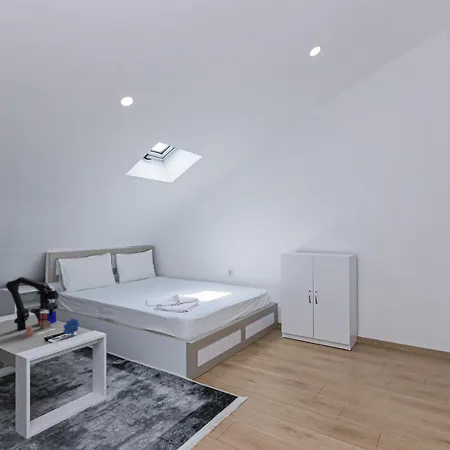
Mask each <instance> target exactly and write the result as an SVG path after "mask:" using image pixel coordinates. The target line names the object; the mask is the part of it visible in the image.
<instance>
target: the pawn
mask: <svg viewBox="0 0 450 450" xmlns="http://www.w3.org/2000/svg"><path fill="white" fill-rule="evenodd" d="M26 328H27V329H25V338H27V337H30V338H32V336H33V333H34V332H33V327H32V326H31V325H28V326H26ZM33 337H34V336H33Z"/></svg>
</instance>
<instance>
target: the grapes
mask: <svg viewBox="0 0 450 450" xmlns="http://www.w3.org/2000/svg"><path fill="white" fill-rule="evenodd" d="M80 325H81V324H80V322H79V319H77V318H76V319H75V318H74V317H72V318H71V319H68V320H67V321H66V323H65V324H63V331H62V332H63V333H64V334H65V335H66V334H70V333H71V334H73V335H74V334H75V333H76V332H77V331H79V327H80ZM71 334H70V335H71Z"/></svg>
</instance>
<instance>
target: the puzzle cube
mask: <svg viewBox="0 0 450 450" xmlns="http://www.w3.org/2000/svg"><path fill="white" fill-rule="evenodd" d="M44 321H50V325H52V324H54V323H56V322H57V311H56V309H55V310H54V311H53V313H52V316H51V318H50V317H49V310H46V309H45V310H41V311H40V321H38V320H37V325H38V326H40V323H41V322H44Z"/></svg>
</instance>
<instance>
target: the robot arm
mask: <svg viewBox="0 0 450 450" xmlns="http://www.w3.org/2000/svg"><path fill="white" fill-rule="evenodd" d="M21 284H24V285H25V286H29V287H32V288H34V289H35V290H37V291H38V292H37V293H36V295H39V301H38V303H39V308H38V307H33V308H32V309H31V310H30V311H29V308H25V306H24V304H23V301H22V297H21V294H20V292H19V286H20V285H21ZM5 287H6V289H7V291H8V292H10V293H11V296H12V299H13V302H14V305H15V307H16V318H15V319H14V320H13V321H14V324H16V328H15V331H19V332H20V331H21V332H22V331H26V330H27V325H26V321H28V319H29V317H30V314H33V315H35V317H36V318H37V322H38V321H40V312H42V311H45V310H49V317H50V318H51V316H52V313H53V311H54V310H56V309H58V304H56V302H55V301H53V302H50V300H57V299H58V298H59V292H58V291H57V289H56V290H55V289H54V290H52V288H51V287H50V285H49V283H47V282H39V281H36V280H33V279H30V278H27V277H25V276H22V277H21V276H20V277H18V278H15V279H13V280H11V281H7V282H6V284H5Z"/></svg>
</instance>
